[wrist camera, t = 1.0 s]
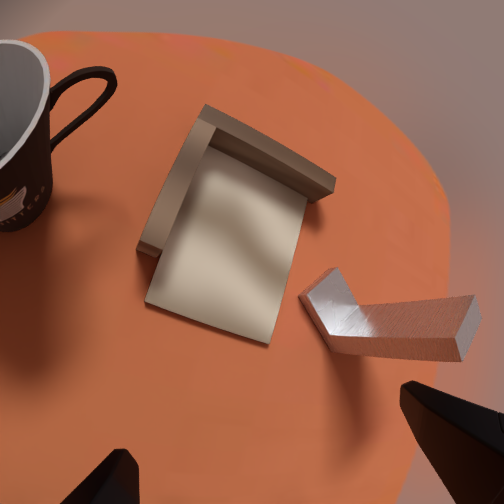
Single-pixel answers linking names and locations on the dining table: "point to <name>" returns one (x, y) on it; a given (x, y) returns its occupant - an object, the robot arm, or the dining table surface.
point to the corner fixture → (229, 225)
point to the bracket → (391, 323)
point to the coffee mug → (33, 129)
